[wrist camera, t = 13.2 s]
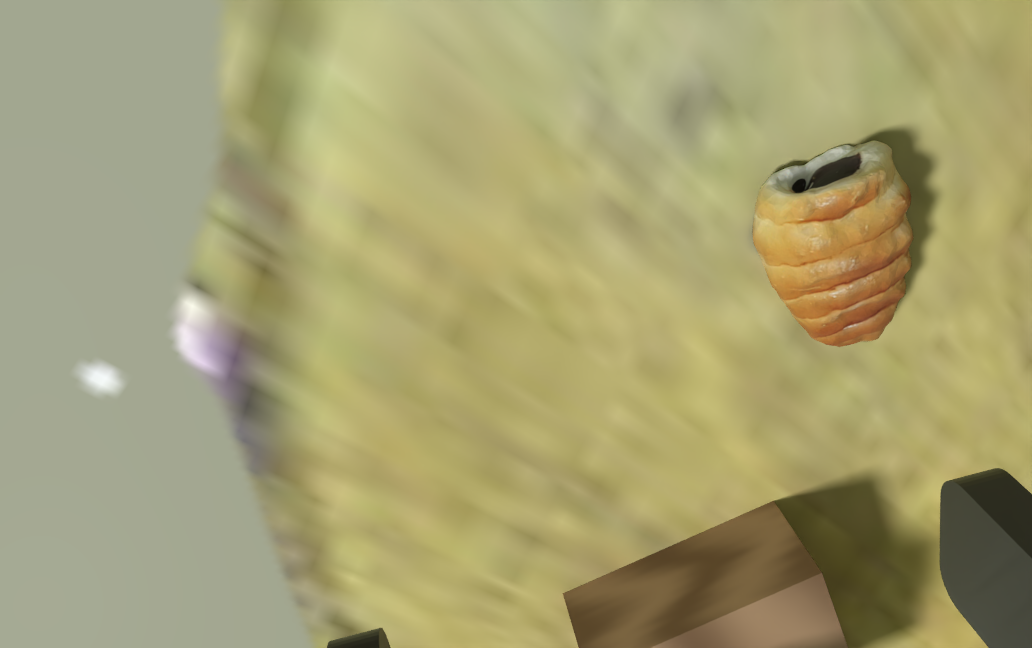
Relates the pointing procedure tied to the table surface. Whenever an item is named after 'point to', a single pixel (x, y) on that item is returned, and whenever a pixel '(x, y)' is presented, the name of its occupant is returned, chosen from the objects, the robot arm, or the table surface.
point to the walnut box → (713, 593)
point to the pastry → (837, 241)
